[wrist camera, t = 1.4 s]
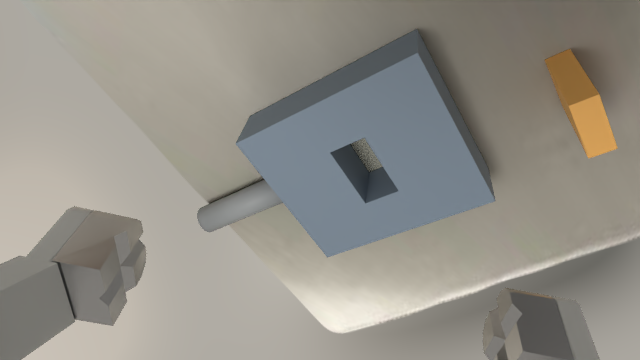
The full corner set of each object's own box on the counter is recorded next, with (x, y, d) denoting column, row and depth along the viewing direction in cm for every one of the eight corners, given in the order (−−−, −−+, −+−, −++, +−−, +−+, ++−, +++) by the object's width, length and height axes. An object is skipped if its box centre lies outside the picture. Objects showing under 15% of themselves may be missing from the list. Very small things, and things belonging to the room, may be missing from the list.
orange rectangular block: (544, 59, 41) (568, 106, 34) (569, 48, 40) (599, 94, 33) (562, 106, 43) (588, 158, 37) (587, 97, 42) (617, 148, 36)
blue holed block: (416, 28, 41) (417, 52, 37) (488, 168, 48) (495, 201, 44) (165, 160, 53) (145, 188, 49) (251, 255, 61) (240, 286, 57)
